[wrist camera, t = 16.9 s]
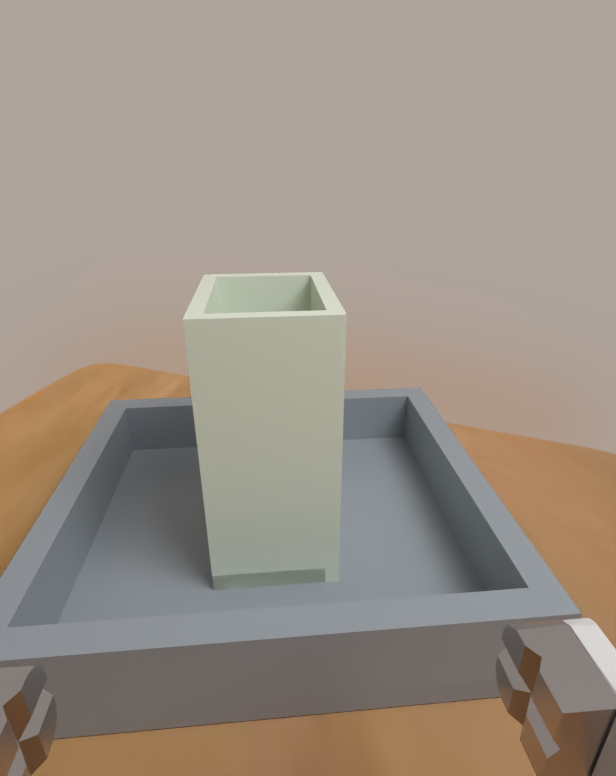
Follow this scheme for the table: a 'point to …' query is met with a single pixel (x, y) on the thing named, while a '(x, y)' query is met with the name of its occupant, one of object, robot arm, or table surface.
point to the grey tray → (268, 603)
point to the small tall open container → (269, 424)
